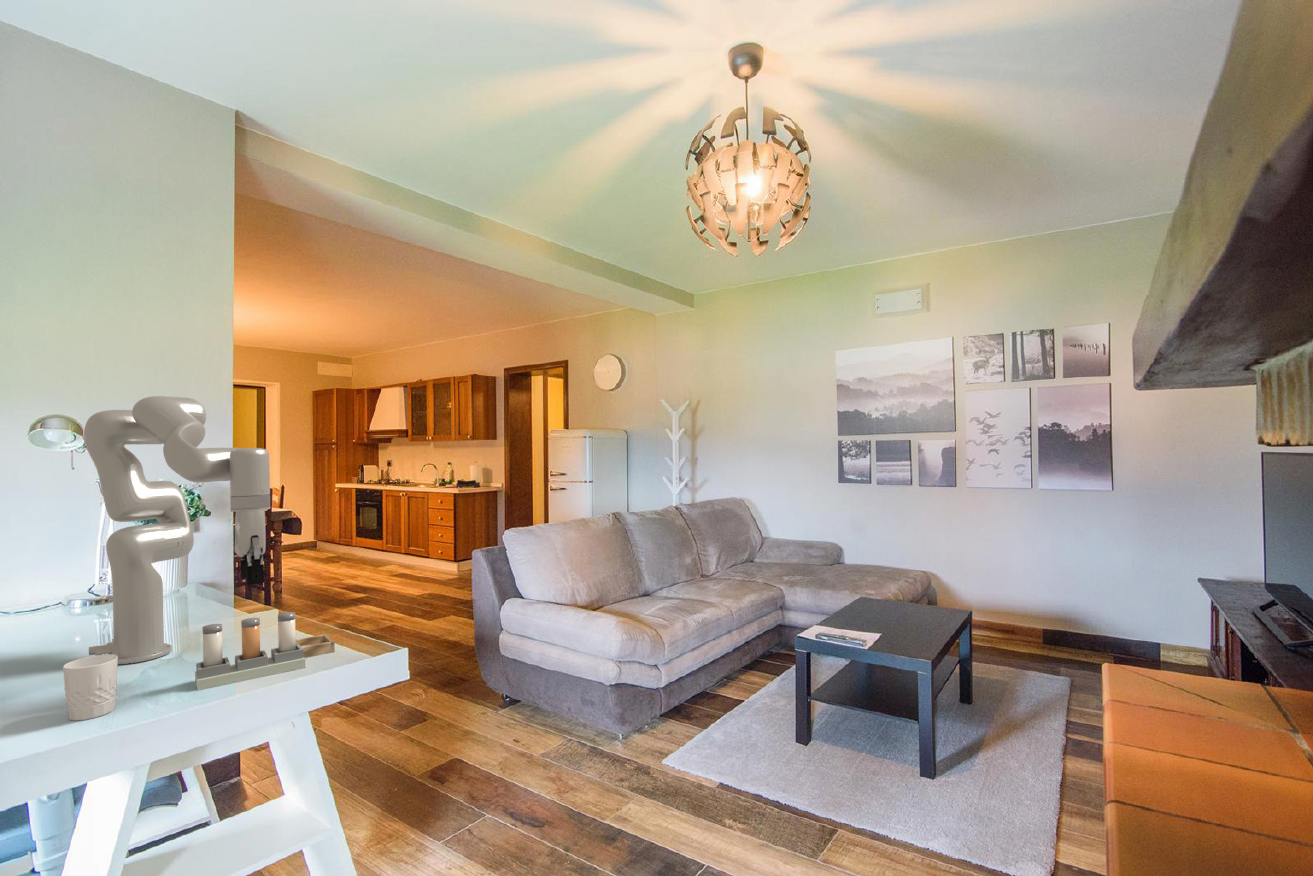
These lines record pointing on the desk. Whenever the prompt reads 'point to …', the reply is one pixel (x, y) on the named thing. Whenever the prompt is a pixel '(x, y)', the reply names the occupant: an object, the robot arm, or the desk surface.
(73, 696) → the white cup
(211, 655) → the cylinder
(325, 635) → the tray
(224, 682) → the fuse holder
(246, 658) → the cylinder
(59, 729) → the desk surface
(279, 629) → the cylinder
